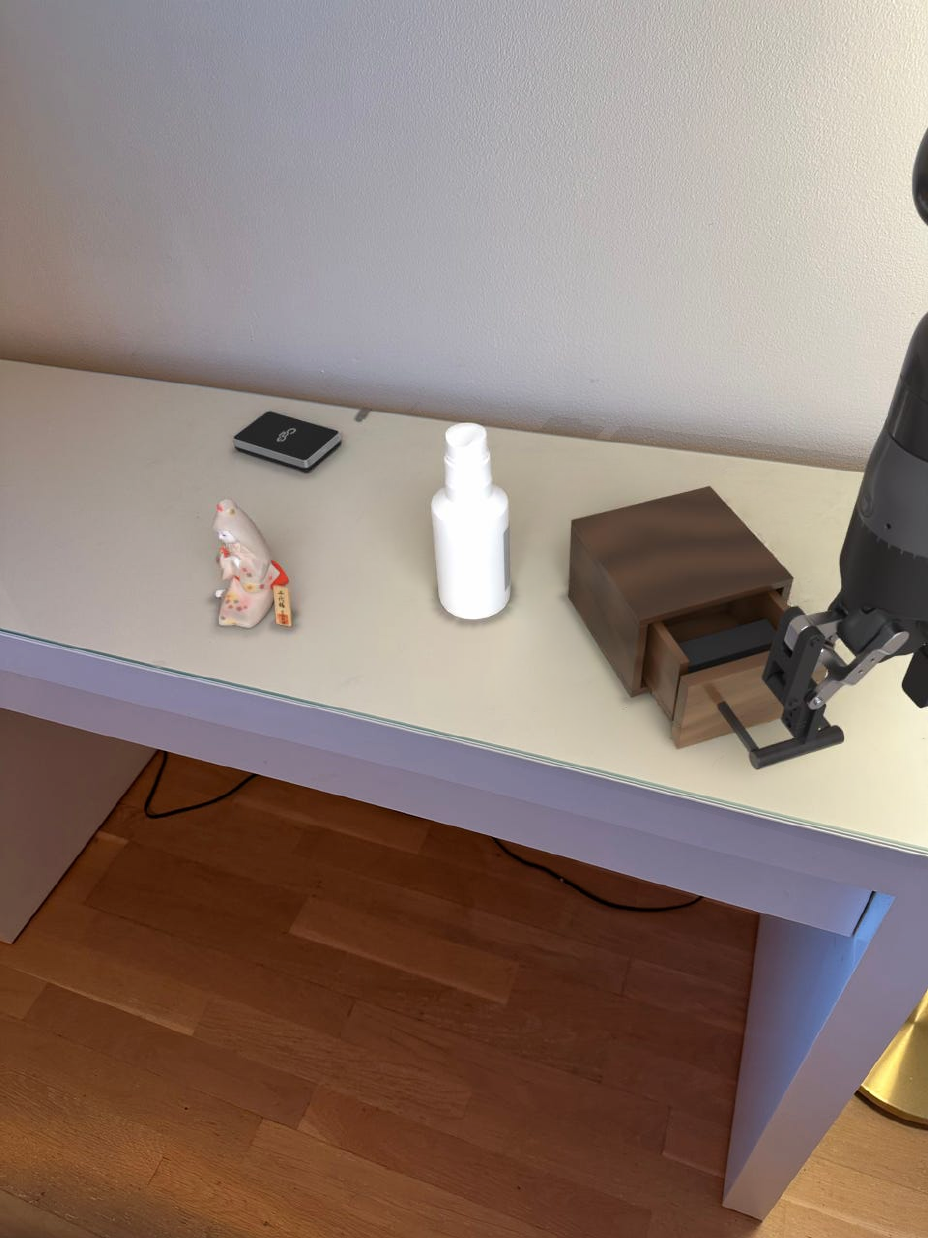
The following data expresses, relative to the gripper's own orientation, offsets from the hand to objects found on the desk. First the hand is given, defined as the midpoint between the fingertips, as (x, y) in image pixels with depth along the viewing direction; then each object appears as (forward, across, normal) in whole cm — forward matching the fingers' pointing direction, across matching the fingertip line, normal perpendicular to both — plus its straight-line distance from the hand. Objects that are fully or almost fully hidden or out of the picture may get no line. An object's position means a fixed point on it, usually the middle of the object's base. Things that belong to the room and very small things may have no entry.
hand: (858, 715), depth 59 cm
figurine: (+13, -35, +39) cm, 54 cm away
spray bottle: (+13, -15, +33) cm, 39 cm away
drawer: (+12, 0, +13) cm, 18 cm away
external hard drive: (+13, -27, +65) cm, 72 cm away
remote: (+9, 0, +13) cm, 16 cm away
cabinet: (+13, 0, +23) cm, 27 cm away
